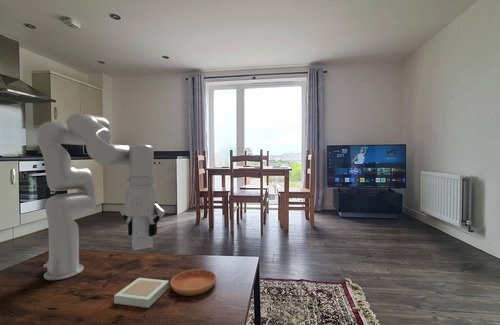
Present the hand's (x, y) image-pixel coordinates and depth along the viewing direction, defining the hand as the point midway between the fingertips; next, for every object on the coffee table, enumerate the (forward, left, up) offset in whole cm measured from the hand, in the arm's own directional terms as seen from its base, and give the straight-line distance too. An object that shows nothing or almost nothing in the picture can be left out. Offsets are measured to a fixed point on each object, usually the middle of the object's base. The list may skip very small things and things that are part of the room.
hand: (142, 234), depth 82 cm
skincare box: (0, 0, -4) cm, 4 cm away
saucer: (+14, +9, -21) cm, 27 cm away
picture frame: (0, 0, -20) cm, 20 cm away
